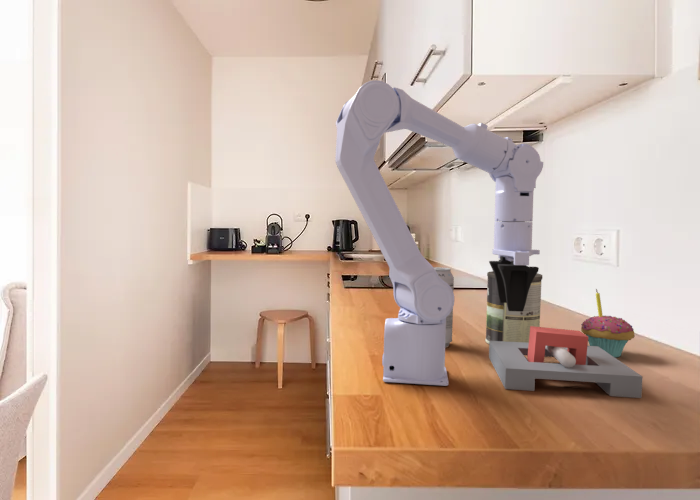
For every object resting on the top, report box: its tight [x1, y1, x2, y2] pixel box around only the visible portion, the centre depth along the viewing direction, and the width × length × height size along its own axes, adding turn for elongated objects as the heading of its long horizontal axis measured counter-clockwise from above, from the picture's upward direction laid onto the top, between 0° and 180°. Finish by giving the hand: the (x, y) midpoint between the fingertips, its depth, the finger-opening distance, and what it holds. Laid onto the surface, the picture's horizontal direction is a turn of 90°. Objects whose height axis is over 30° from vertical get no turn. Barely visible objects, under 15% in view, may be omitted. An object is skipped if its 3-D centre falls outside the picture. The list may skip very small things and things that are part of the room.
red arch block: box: [526, 326, 589, 365], centre depth 72 cm, size 8×4×6 cm, turn 81°
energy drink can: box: [434, 266, 455, 348], centre depth 89 cm, size 6×6×15 cm
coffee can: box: [484, 270, 543, 345], centre depth 91 cm, size 10×10×14 cm
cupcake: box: [580, 288, 635, 358], centre depth 84 cm, size 9×8×12 cm
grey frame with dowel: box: [488, 341, 643, 399], centre depth 72 cm, size 18×16×5 cm
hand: (510, 306), depth 73 cm, fingers open, 7 cm apart
